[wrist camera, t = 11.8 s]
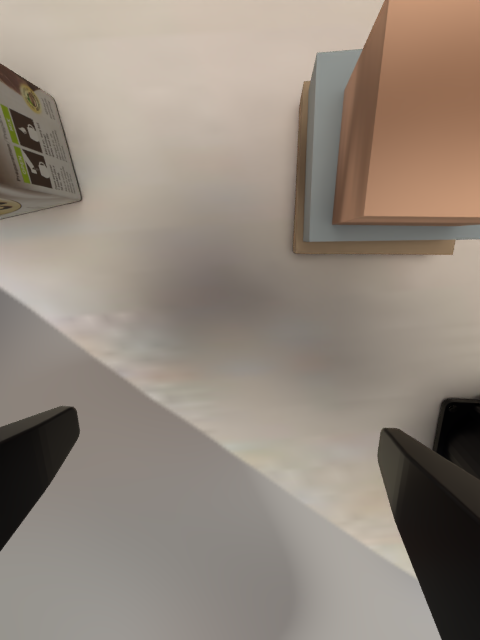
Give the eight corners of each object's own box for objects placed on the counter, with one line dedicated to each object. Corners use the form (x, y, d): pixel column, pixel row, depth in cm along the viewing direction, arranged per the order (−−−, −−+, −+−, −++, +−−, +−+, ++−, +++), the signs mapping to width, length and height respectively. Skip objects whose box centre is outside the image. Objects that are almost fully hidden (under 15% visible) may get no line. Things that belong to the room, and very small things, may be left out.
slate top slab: (442, 239, 15) (480, 239, 13) (303, 241, 16) (309, 241, 13) (466, 78, 14) (517, 35, 11) (308, 89, 14) (317, 52, 12)
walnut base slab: (424, 252, 18) (452, 254, 16) (292, 251, 19) (295, 253, 16) (448, 101, 16) (485, 72, 14) (299, 107, 17) (303, 81, 14)
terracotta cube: (455, 226, 13) (566, 217, 8) (331, 224, 13) (363, 216, 8) (482, 85, 11) (636, -30, 6) (344, 90, 12) (390, -13, 7)
